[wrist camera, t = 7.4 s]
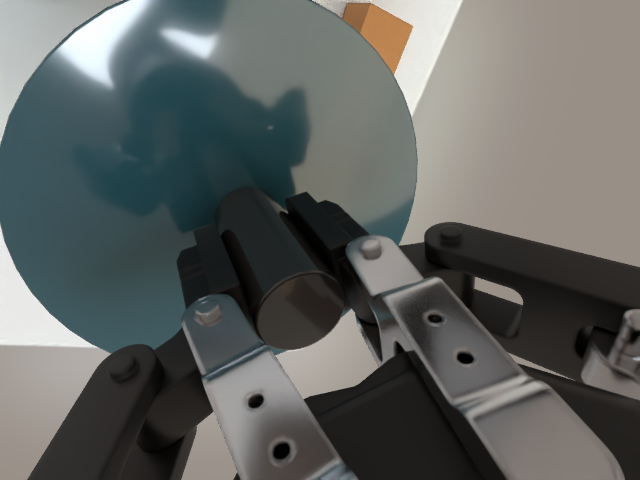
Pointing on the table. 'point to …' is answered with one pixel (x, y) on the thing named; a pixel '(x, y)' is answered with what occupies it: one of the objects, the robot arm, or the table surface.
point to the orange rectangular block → (379, 30)
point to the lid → (199, 163)
